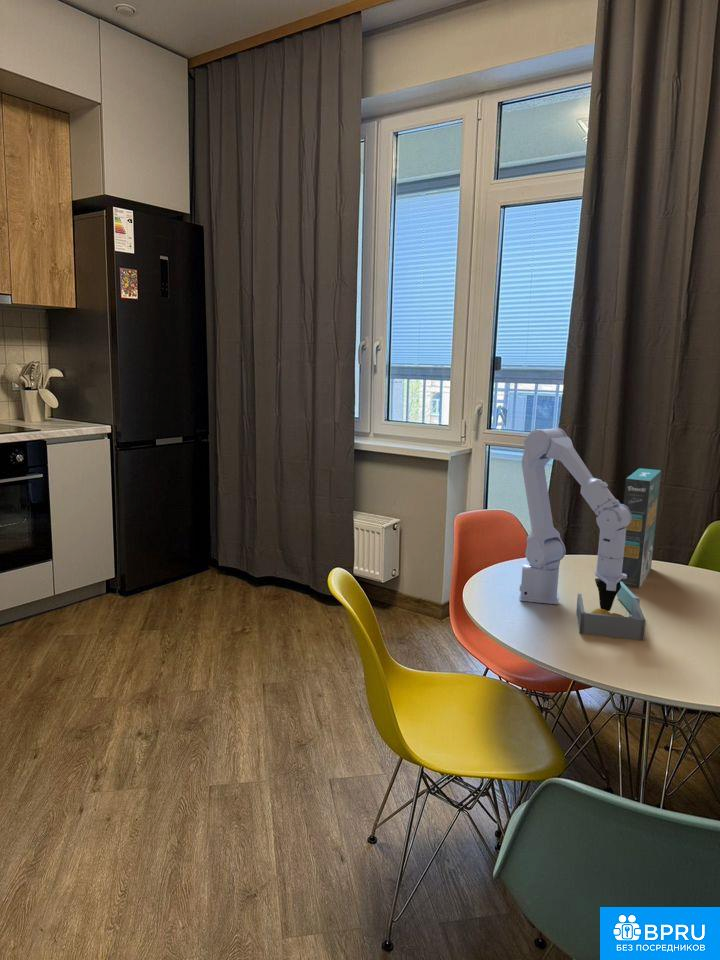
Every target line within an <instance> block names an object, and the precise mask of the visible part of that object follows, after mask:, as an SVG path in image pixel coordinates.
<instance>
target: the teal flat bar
mask: <svg viewBox="0 0 720 960" xmlns="http://www.w3.org/2000/svg"><path fill="white" fill-rule="evenodd" d="M620 585H621V589H620V590H619V591H618V593H617V594H616V598H617V599H619V601H620V602H621V603H622V605H623V606H624V607H625V608H626V609H627V610H628V612H630V614H631V615H632V610H633V600H634V599H636V600H637V601H638V603H639V605H640V604H641V603H640V601H641V597H639V596H636V595H635V594H634V593H633V592H632V591H631V590H630V589H629V587H627V586H625V584H624V583H623V582H620Z"/></svg>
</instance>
